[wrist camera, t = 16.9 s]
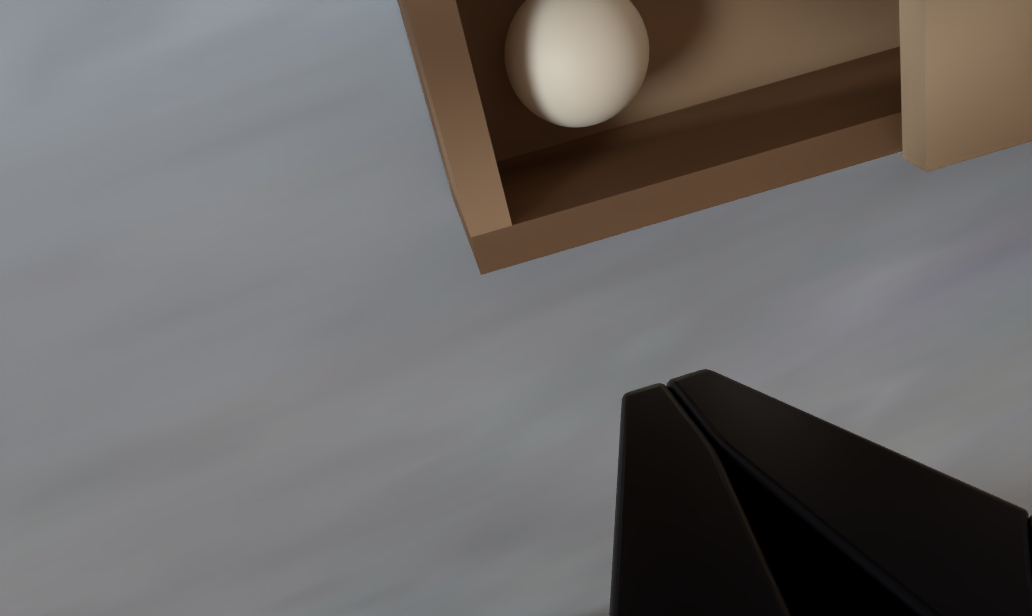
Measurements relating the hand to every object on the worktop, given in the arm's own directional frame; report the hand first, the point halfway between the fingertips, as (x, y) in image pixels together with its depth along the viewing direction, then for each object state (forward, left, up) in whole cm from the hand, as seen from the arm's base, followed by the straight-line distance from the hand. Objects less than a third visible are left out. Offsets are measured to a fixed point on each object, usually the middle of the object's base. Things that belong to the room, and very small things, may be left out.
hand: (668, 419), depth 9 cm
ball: (0, -2, -11) cm, 11 cm away
